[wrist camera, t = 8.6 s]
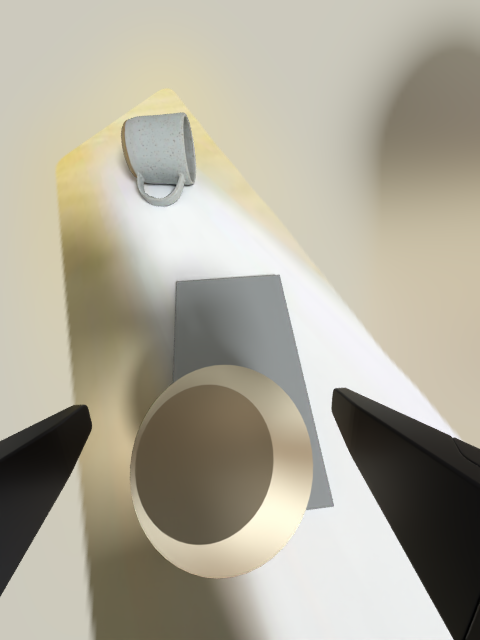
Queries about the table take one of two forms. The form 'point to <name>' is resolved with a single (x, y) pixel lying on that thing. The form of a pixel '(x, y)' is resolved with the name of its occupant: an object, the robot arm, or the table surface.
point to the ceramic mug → (160, 153)
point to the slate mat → (246, 345)
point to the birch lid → (221, 471)
